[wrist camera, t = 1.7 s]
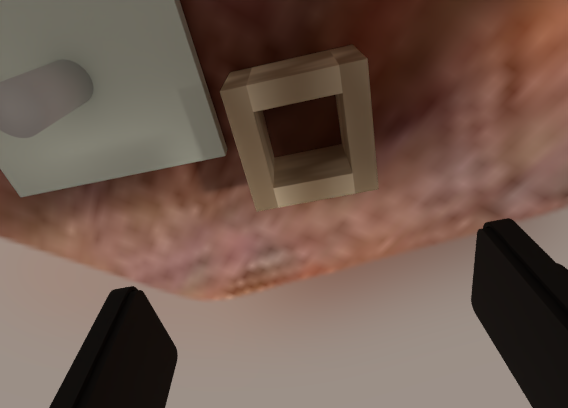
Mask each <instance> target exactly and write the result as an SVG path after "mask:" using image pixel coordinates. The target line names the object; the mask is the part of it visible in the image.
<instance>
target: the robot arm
mask: <svg viewBox="0 0 568 408" xmlns="http://www.w3.org/2000/svg"><path fill="white" fill-rule="evenodd" d="M471 302H472V306H473V309H474V311H475V313H476V315H477V317H478V319H479V320H480V322H481V323H482V325H483V327H484V328H485V330H486V332H487V333H488V335H489V336H490V338H491V340H492V341H493V343H494V345H495V346H496V348H497V350H498V351H499V353H500V354H501V356H502V358H503V360H504V361H505V363H506V365H507V366H508V368H509V370H510V371H511V373H512V374H513V376H514V377H515V379H516V381H517V383H518V384H519V386H520V388H521V389H522V391H523V393H524V394H525V396H526V397H527V399H528V401H529V402H530V404H531V406H532V407H533V408H568V270H567V269H566V268H565V267H563V266H562V265H560V264H558V263H555V261H553V260H552V258H550V256H548V254H547V253H545V252H544V251H543V250H542V249H541V248H540V247H539V246H538V245H537V244H536V243H535V242H534V241H533V240H532V239H531V238H530V237H529V236H528V235H527V234H526V233H525V232H524V231H523V230H522V229H521V228H520V227H519V226H518V225H517V224H516V223H515V222H514V221H513V220H512V219H509V218H508V219H502V220H496V221H491V222H486V223H485V224H484V226H483V229H479V230H478V232H477V240H476V252H475V263H474V274H473V285H472V296H471ZM176 362H177V349H176V347H175V345H174V343H173V341H172V340H171V338H170V336H169V335H168V333H167V331H166V330H165V328H164V326H163V324H162V323H161V321H160V319H159V318H158V316H157V314H156V313H155V311H154V309H153V307H152V306H151V304H150V302H149V301H148V299H147V297H146V295H145V294H144V292H143V291H141V290H138V289H137V288H136V287H134V286H132V287H125V288H120V289H115V290H113V291H111V292H110V294H109V295H108V297H107V299H106V301H105V303H104V305H103V307H102V309H101V311H100V313H99V314H98V316H97V318H96V320H95V322H94V324H93V326H92V328H91V330H90V331H89V333H88V335H87V337H86V339H85V341H84V343H83V345H82V347H81V349H80V350H79V352H78V354H77V356H76V358H75V360H74V362H73V364H72V366H71V368H70V370H69V371H68V373H67V375H66V377H65V379H64V381H63V383H62V385H61V387H60V388H59V390H58V392H57V394H56V396H55V398H54V400H53V402H52V403H51V405H50V407H49V408H165V405H166V402H167V397H168V393H169V390H170V386H171V382H172V378H173V374H174V370H175V366H176Z"/></svg>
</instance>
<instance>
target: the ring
mask: <svg viewBox="0 0 568 408" xmlns="http://www.w3.org/2000/svg"><path fill="white" fill-rule="evenodd" d="M220 94H221V98H222V101H223V104H224V107H225V111H226V114H227V117H228V120H229V124H230V127H231V130H232V133H233V137H234V140H235V143H236V146H237V150H238V153H239V156H240V160H241V163H242V166H243V169H244V173H245V176H246V179H247V182H248V186H249V189H250V192H251V195H252V199H253V202H254V205H255V209H256V212H257V211H263V210H268V209H274V208H279V207H285V206H290V205H296V204H301V203H306V202H312V201H317V200H323V199H328V198H334V197H339V196H345V195H350V194H355V193H361V192H366V191H372V190H377V189H378V177H377V165H376V153H375V141H374V129H373V117H372V105H371V93H370V81H369V69H368V58H366V57H365V56H364V55H363V54H362V53H361V52H360V51H359V50H358V49H357V48H356V47H355V46H354V45H348V46H344V47H340V48H335V49H331V50H326V51H322V52H318V53H313V54H309V55H304V56H300V57H296V58H291V59H287V60H283V61H278V62H274V63H269V64H265V65H261V66H256V67H252V68H247V69H243V70H239V71H234V72H230V73H229V75H228V77H227V79H226V81H225V82H224V84H223V86H222V88H221V90H220ZM331 95H335V96H336V103H337V111H338V118H339V125H340V133H341V140H342V144H340V145H335V146H330V147H325V148H320V149H315V150H310V151H305V152H300V153H295V154H290V155H285V156H280V157H275V158H274V154H273V150H272V146H271V142H270V138H269V134H268V130H267V126H266V122H265V118H264V114H263V110H266V109H270V108H275V107H280V106H284V105H289V104H294V103H298V102H303V101H308V100H312V99H317V98H322V97H326V96H331Z"/></svg>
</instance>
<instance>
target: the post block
mask: <svg viewBox="0 0 568 408" xmlns="http://www.w3.org/2000/svg"><path fill="white" fill-rule="evenodd" d="M227 150H228V149H227V146H226V143H225V140H224V137H223V134H222V131H221V128H220V124H219V121H218V118H217V115H216V112H215V109H214V106H213V103H212V100H211V97H210V93H209V90H208V87H207V84H206V81H205V78H204V75H203V72H202V69H201V65H200V62H199V59H198V56H197V53H196V50H195V47H194V44H193V41H192V38H191V34H190V31H189V28H188V25H187V22H186V19H185V16H184V13H183V10H182V7H181V3H180V0H0V169H1V171H2V172H3V173H4V175H5V176H6V178H7V179H8V180H9V182H10V183H11V185H12V186H13V187H14V189H15V190H16V192H17V193H18V194H19V196H20V197H25V196H30V195H35V194H40V193H45V192H50V191H55V190H60V189H65V188H70V187H75V186H80V185H85V184H90V183H95V182H99V181H104V180H109V179H114V178H119V177H124V176H129V175H134V174H139V173H144V172H149V171H154V170H159V169H164V168H169V167H174V166H179V165H183V164H188V163H193V162H198V161H203V160H208V159H213V158H218V157H223V156H226V153H227Z"/></svg>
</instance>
